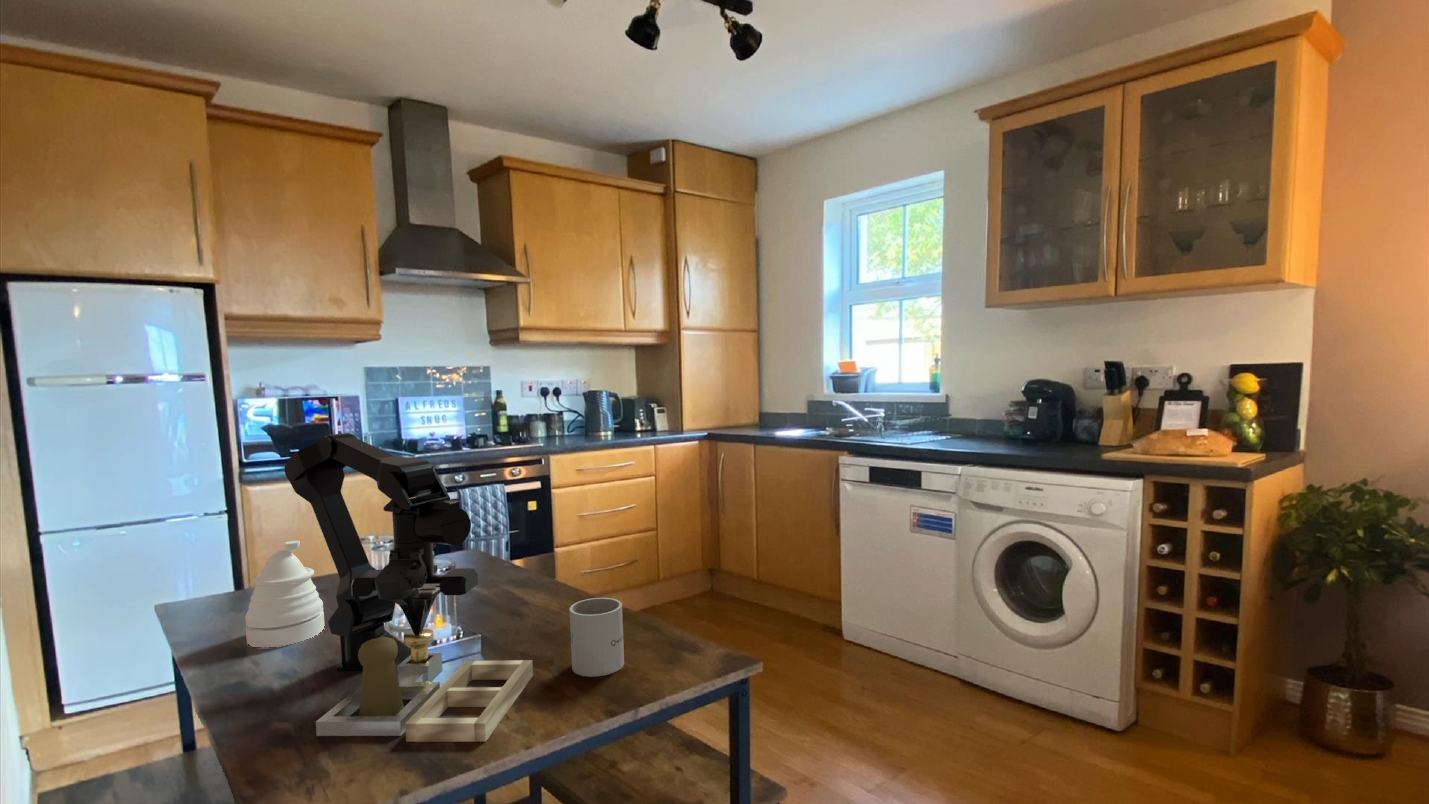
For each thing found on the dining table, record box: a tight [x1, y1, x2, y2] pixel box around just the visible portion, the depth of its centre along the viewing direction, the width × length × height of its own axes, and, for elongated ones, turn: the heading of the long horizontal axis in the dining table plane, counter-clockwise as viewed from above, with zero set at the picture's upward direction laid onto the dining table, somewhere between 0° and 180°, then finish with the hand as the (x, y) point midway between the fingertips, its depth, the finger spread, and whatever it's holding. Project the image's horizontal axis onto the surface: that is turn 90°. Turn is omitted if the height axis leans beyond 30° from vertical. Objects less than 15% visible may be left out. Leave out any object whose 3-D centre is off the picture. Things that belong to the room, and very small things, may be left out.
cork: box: [358, 637, 405, 716], centre depth 102 cm, size 6×6×11 cm
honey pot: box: [244, 540, 325, 649], centre depth 134 cm, size 13×13×18 cm
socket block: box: [315, 652, 444, 737], centre depth 106 cm, size 12×20×3 cm, turn 177°
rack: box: [405, 659, 534, 743], centre depth 104 cm, size 11×20×2 cm, turn 177°
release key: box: [403, 628, 434, 664], centre depth 114 cm, size 4×4×6 cm
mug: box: [569, 597, 625, 678], centre depth 118 cm, size 12×9×10 cm
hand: (418, 633), depth 113 cm, fingers closed, pressing on release key
